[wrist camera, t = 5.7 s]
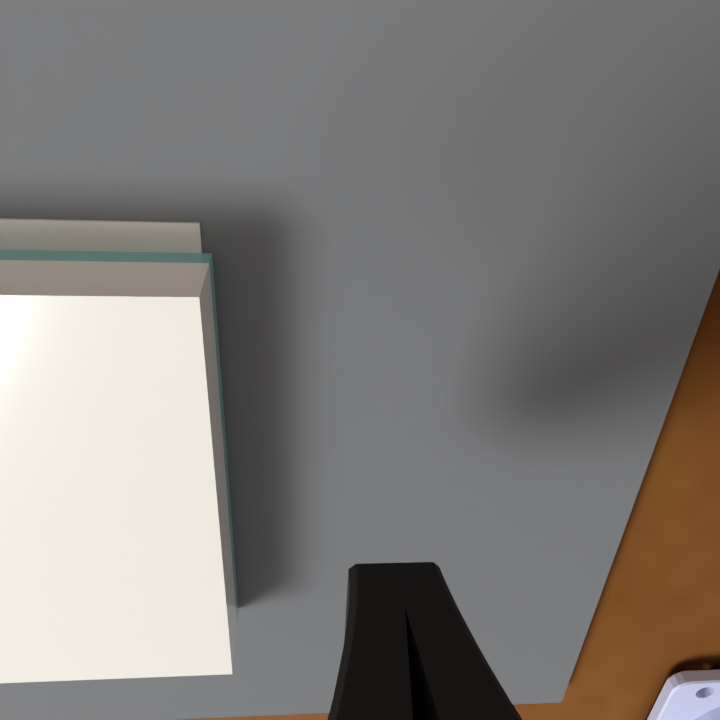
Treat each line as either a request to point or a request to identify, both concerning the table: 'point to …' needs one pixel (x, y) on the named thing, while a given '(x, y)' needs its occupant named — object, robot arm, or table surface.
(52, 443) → the tile
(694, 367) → the table surface
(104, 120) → the mat
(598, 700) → the table surface
